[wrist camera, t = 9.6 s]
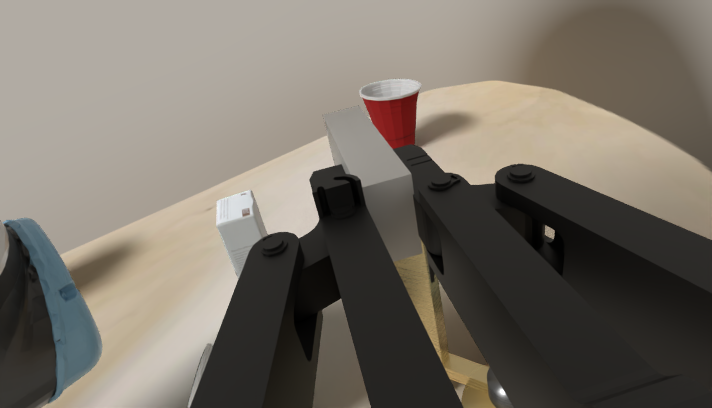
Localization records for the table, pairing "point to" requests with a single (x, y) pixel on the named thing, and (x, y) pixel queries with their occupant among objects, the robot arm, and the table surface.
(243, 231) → the skincare box
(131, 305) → the table surface
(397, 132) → the plastic cup
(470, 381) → the brass panel with base
